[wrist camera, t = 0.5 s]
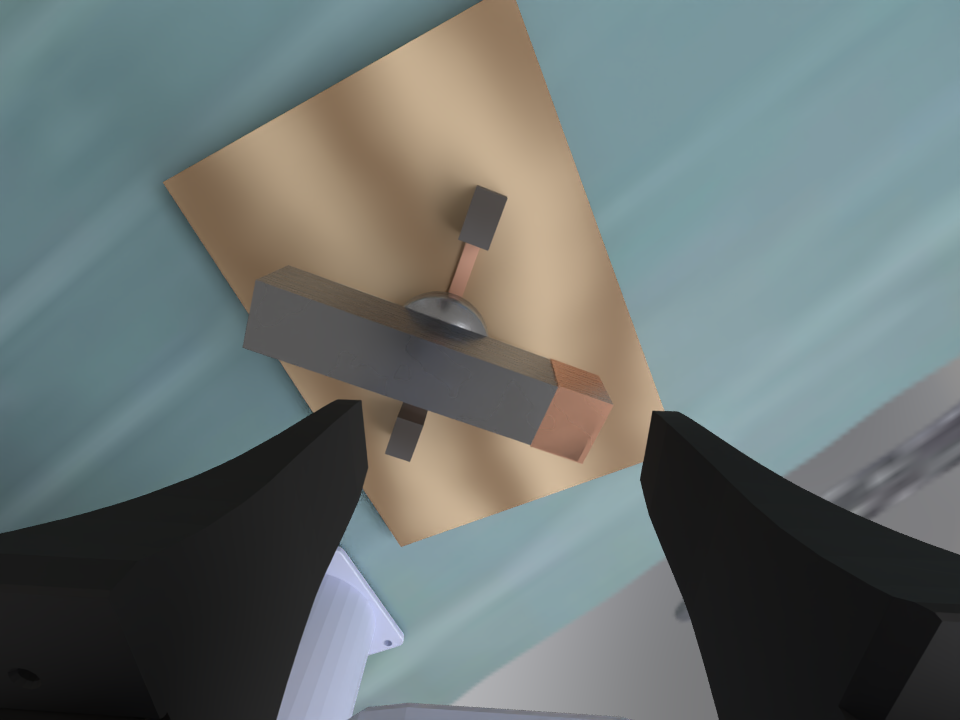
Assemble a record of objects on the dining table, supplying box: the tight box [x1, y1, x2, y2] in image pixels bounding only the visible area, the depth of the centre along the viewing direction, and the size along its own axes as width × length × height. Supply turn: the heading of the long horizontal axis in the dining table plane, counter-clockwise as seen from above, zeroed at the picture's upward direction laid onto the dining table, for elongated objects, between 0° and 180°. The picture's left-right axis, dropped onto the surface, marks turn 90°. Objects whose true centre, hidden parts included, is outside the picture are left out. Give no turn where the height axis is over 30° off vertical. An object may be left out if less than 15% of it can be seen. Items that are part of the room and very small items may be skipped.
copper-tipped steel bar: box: [243, 265, 614, 464], centre depth 18 cm, size 12×4×4 cm, turn 70°
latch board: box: [163, 0, 664, 547], centre depth 20 cm, size 15×20×3 cm
